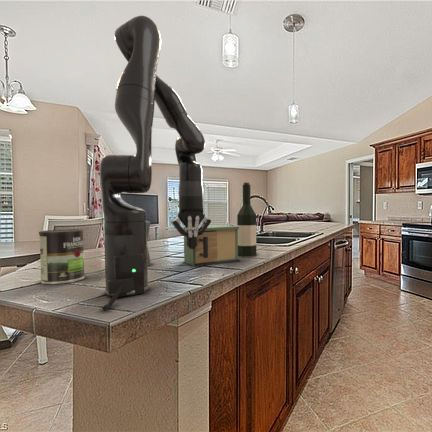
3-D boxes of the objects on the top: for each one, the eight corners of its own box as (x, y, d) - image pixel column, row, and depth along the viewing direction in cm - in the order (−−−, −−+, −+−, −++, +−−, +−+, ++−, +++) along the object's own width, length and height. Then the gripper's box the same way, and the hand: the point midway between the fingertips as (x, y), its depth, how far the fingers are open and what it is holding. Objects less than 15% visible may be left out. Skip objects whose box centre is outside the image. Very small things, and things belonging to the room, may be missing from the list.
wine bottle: (234, 254, 136) (233, 183, 135) (252, 252, 140) (252, 183, 139) (241, 256, 129) (240, 181, 127) (260, 255, 133) (259, 182, 131)
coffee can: (93, 276, 95) (92, 229, 95) (62, 285, 85) (60, 232, 84) (64, 275, 97) (62, 228, 97) (30, 283, 87) (28, 231, 87)
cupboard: (239, 261, 119) (239, 226, 118) (194, 266, 109) (193, 228, 109) (227, 257, 128) (226, 224, 128) (184, 261, 118) (183, 226, 118)
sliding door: (223, 263, 110) (223, 232, 109) (201, 266, 105) (200, 233, 105) (216, 260, 115) (216, 231, 114) (195, 263, 110) (194, 232, 110)
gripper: (173, 194, 97) (174, 252, 97) (215, 195, 104) (215, 248, 105) (166, 195, 103) (167, 249, 104) (206, 195, 110) (207, 245, 111)
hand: (192, 248), depth 104 cm, fingers closed
